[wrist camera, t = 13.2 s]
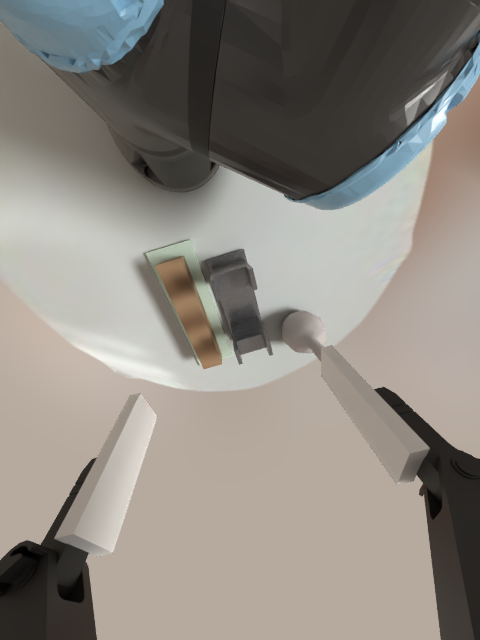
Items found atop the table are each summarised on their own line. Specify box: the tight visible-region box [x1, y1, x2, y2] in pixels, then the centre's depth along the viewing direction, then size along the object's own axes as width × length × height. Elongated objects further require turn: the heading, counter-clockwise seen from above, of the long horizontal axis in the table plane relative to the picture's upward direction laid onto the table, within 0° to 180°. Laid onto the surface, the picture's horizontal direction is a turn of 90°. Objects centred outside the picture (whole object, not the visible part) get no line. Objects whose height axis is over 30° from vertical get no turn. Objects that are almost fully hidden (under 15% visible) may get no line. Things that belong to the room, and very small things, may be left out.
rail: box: [155, 256, 222, 369], centre depth 35 cm, size 22×4×4 cm, turn 15°
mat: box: [145, 240, 233, 366], centre depth 37 cm, size 26×8×1 cm, turn 16°
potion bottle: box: [282, 310, 326, 361], centre depth 33 cm, size 9×9×18 cm
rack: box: [206, 249, 273, 364], centre depth 32 cm, size 18×7×10 cm, turn 16°
